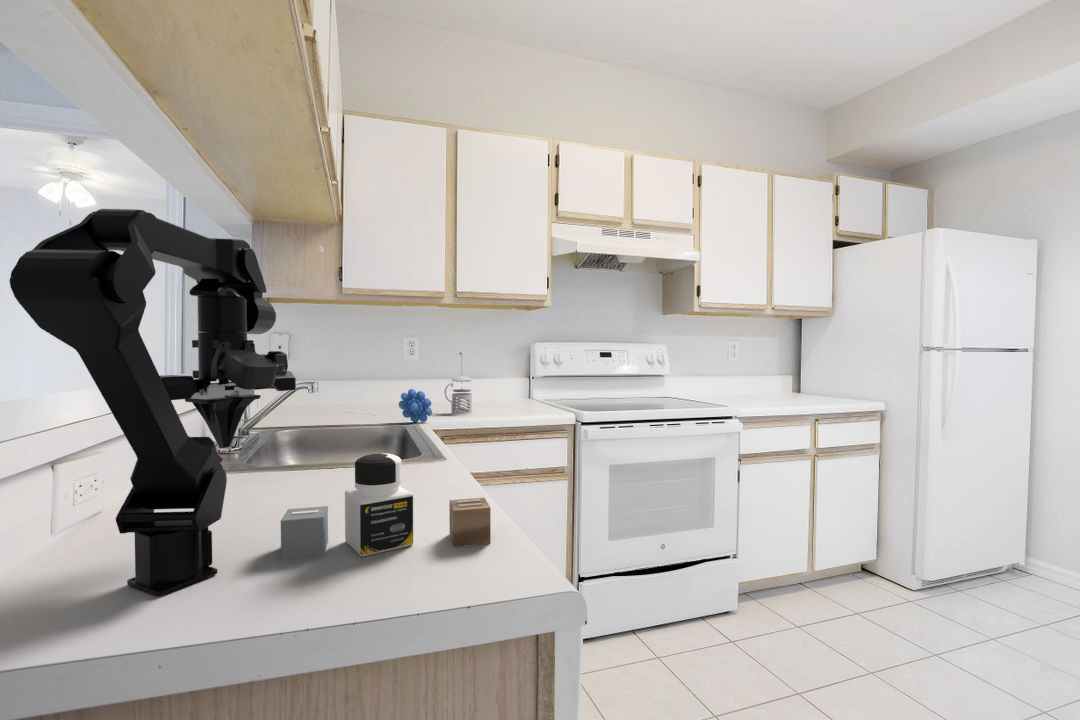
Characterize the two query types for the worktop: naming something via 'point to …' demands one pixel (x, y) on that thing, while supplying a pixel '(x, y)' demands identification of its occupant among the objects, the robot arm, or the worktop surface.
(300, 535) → the slate block one
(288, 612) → the worktop surface
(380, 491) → the medicine bottle
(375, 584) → the worktop surface
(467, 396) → the french press
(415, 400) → the blue knobby cluster
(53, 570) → the worktop surface
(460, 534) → the walnut block two
